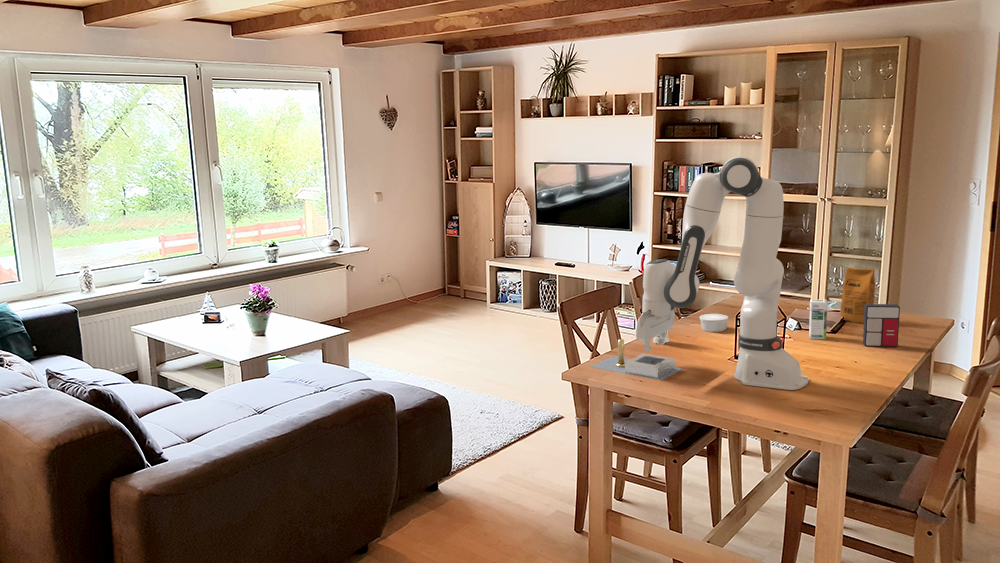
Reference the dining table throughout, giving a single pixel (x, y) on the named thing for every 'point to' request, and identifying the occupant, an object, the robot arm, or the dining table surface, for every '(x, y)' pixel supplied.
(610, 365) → the keeper board
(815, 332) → the syrup box
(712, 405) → the dining table surface
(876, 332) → the calculator
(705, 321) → the ramekin
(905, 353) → the dining table surface
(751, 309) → the robot arm
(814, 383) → the dining table surface
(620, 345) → the brass peg
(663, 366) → the grey recessed tray
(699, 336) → the dining table surface
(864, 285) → the coffee package
